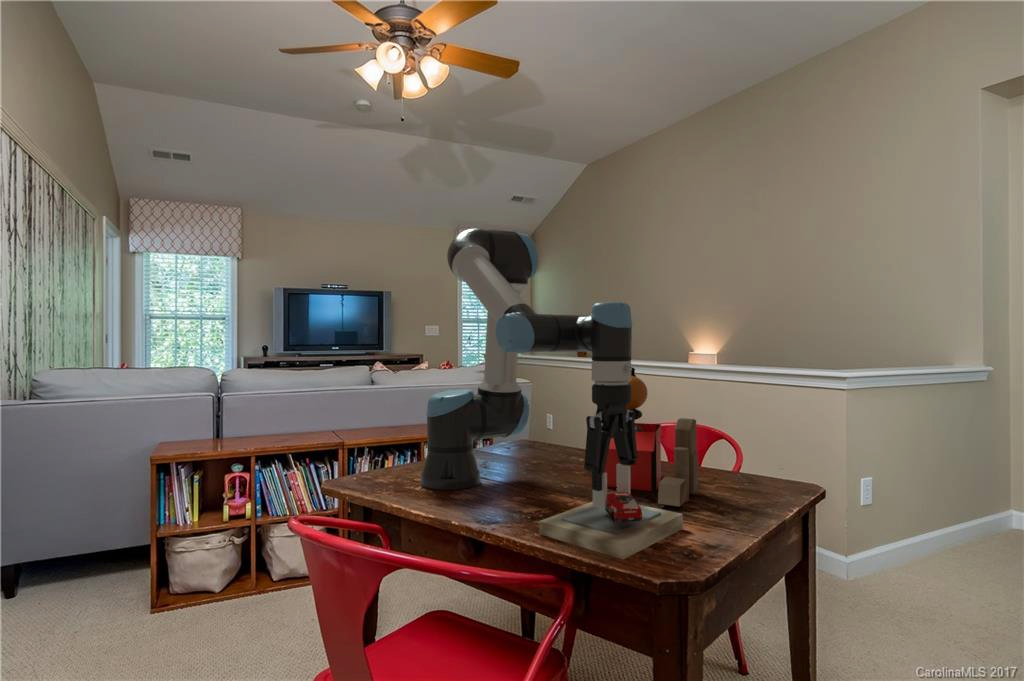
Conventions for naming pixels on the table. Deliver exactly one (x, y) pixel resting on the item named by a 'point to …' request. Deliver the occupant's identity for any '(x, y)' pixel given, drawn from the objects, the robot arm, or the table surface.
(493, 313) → the robot arm
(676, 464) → the wooden block set
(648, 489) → the jack-in-the-box
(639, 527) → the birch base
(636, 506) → the race car
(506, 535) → the table surface
